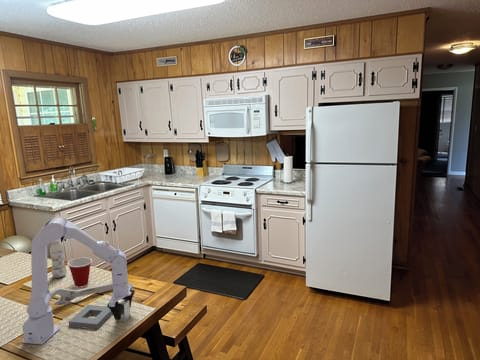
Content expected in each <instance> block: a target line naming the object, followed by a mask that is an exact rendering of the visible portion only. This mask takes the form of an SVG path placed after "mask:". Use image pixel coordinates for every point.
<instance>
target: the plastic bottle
mask: <svg viewBox="0 0 480 360" xmlns="http://www.w3.org/2000/svg"><path fill="white" fill-rule="evenodd" d="M51 244H52V245H51V246H50V248H49V254H50V257H51V275H52V277H53V278H55V279H58V278H63V277H64V276H65V275H66V274H67V267H66V264H65V247H64V245H63V244H62V243H61V238H60V239H58V240H56V241H53V242H51Z"/></svg>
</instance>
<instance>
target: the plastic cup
mask: <svg viewBox="0 0 480 360" xmlns="http://www.w3.org/2000/svg"><path fill="white" fill-rule="evenodd" d="M66 263H67V266H68V268H69V271H70V273H71V277H72V280H73V283H74V286H75V287H76V286H78V287H77V288H81V286H82V287H85V286H87V285H88V284H89V277H90V272H91V271H90V270H91V266H92V265H91V264H92V263H93V259H92V258H90V257H76V258H72V259H70V260H68V261H67V262H66Z"/></svg>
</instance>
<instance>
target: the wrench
mask: <svg viewBox="0 0 480 360" xmlns="http://www.w3.org/2000/svg"><path fill="white" fill-rule="evenodd" d="M107 291H108V292H109V291H113V283H112V282H108V283H104V284H100V285H99V284H98V285H94V286H89V287H86V288H84V287H83V288H80V289H68V288H64V287H57V288H55V289H54V290H52V291H51V292H50V293H51V295H52V298H53V297H55V296H57V295H59V296H60V298H59V299H57V300H55V301H54V302H52V304H53V305H54V306H63V305H65V306H68V305H70V302H71V301H73V300H74V299H76V298H79V297H85V296H90V295H95V294H99V293H104V292H107Z"/></svg>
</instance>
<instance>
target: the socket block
mask: <svg viewBox="0 0 480 360" xmlns="http://www.w3.org/2000/svg"><path fill="white" fill-rule="evenodd" d="M94 314H96V316H95V318H94V317H90V316H91V315H94ZM111 316H113V314H112V312H111V310H110V309H109V308H108V307H107V305H96V304H94V305H93V304H87V305H85V307H84V308H82V309H81V310H80V311H79V312H78V313H77V314H75V315H74V316H73V317H72V318H70V320H69V321H68V326H69V327H72V326H73V327H75V328H82V327H85V329H93V328H96V329H95V330H98V329H99V328H100V327H101V326H103V324H104V323H105V322H106V321H107V320H108V319H109V318H110V317H111ZM106 319H107V320H106Z"/></svg>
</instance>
